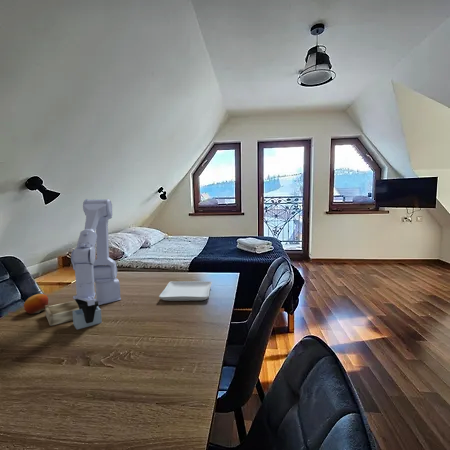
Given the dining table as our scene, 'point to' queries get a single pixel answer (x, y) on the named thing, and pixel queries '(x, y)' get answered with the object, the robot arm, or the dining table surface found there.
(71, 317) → the pine crate
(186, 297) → the salad plate
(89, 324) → the small crate
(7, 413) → the dining table surface
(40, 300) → the fruit
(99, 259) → the robot arm
